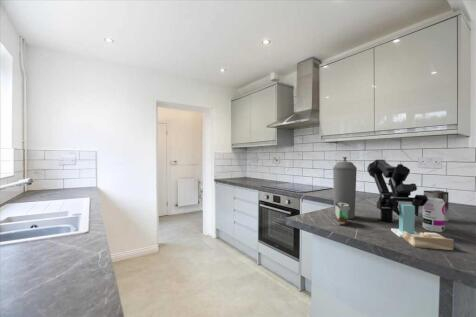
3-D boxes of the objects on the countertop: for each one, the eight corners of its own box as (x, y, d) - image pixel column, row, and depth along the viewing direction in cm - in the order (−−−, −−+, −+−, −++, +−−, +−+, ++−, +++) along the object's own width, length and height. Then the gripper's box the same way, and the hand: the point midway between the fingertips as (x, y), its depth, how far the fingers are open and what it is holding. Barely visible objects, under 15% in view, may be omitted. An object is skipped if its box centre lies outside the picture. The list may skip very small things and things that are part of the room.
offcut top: (424, 236, 98) (424, 232, 98) (434, 237, 97) (435, 232, 97) (434, 243, 91) (434, 238, 91) (446, 244, 90) (446, 238, 90)
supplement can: (444, 229, 112) (445, 198, 112) (444, 233, 106) (444, 201, 106) (423, 225, 118) (423, 196, 118) (421, 229, 112) (422, 198, 112)
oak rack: (402, 237, 101) (403, 228, 101) (437, 240, 98) (437, 231, 98) (414, 247, 91) (414, 236, 91) (453, 250, 88) (453, 239, 88)
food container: (352, 226, 116) (352, 207, 116) (339, 226, 118) (339, 206, 117) (346, 219, 128) (346, 202, 128) (334, 219, 130) (334, 201, 129)
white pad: (391, 230, 111) (391, 228, 111) (412, 231, 109) (412, 229, 109) (399, 237, 102) (399, 234, 102) (423, 238, 100) (423, 236, 100)
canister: (335, 213, 143) (335, 156, 142) (358, 216, 136) (358, 156, 135) (329, 217, 133) (330, 157, 132) (354, 221, 125) (355, 157, 125)
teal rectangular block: (398, 230, 108) (399, 203, 107) (409, 231, 107) (410, 204, 106) (402, 233, 104) (403, 205, 104) (414, 234, 103) (414, 206, 103)
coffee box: (438, 218, 132) (438, 190, 131) (448, 221, 125) (449, 192, 125) (422, 218, 131) (423, 190, 131) (432, 221, 125) (433, 192, 125)
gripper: (381, 176, 111) (390, 204, 100) (426, 177, 107) (440, 206, 96) (375, 190, 119) (383, 217, 108) (417, 191, 114) (429, 220, 104)
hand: (408, 215), depth 104 cm, fingers open, 7 cm apart
